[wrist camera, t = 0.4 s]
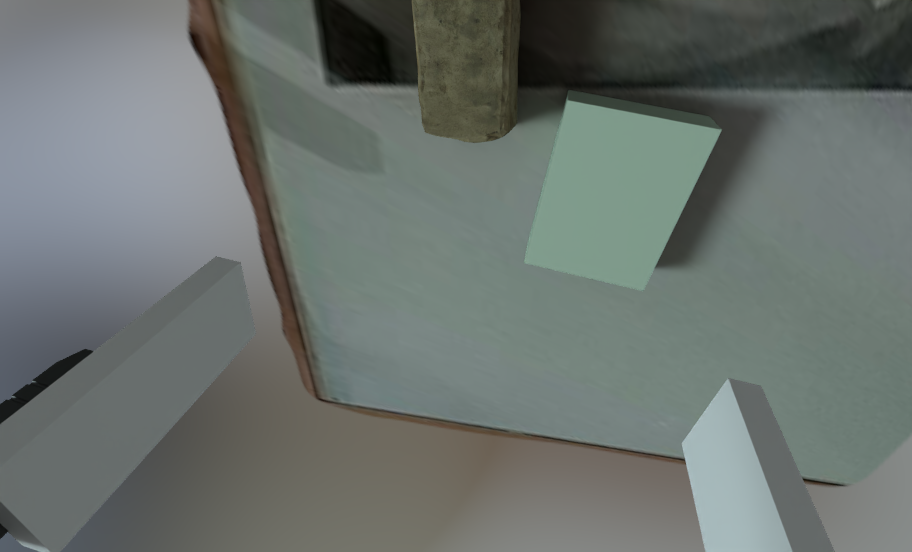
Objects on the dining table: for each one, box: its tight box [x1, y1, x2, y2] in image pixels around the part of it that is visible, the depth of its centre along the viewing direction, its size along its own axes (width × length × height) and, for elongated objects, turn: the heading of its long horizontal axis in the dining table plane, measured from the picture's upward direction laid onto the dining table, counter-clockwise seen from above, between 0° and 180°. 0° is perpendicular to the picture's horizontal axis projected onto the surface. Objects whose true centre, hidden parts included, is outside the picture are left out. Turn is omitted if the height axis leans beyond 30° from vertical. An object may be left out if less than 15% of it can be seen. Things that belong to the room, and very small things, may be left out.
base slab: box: [524, 90, 722, 291], centre depth 31 cm, size 12×9×3 cm
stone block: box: [412, 0, 521, 143], centre depth 26 cm, size 6×12×5 cm, turn 4°
